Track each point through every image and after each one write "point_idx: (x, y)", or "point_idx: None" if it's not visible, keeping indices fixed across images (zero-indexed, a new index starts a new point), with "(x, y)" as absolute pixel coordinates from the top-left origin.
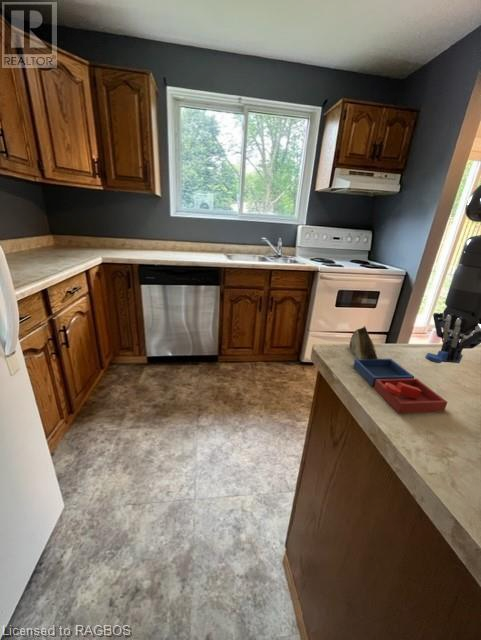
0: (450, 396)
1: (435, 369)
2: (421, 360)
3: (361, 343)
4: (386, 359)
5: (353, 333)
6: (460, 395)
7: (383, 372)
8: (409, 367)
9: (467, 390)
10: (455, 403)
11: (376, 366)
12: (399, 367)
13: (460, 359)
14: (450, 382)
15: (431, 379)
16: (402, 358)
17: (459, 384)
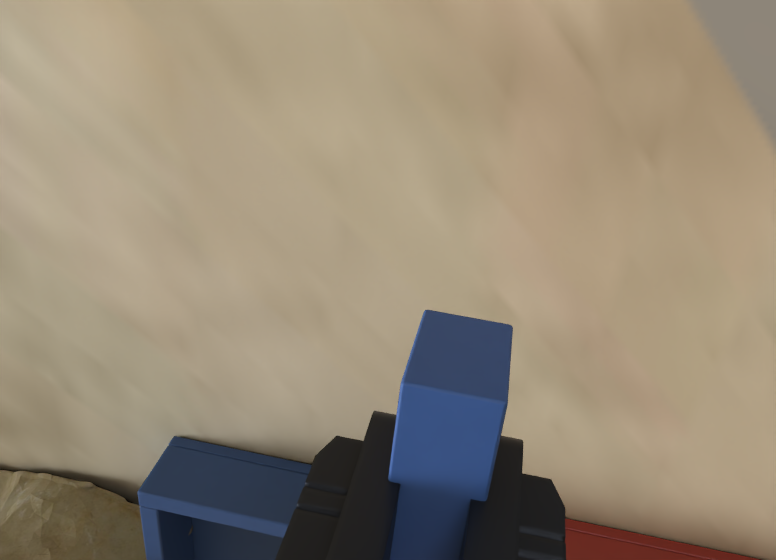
0: (664, 360)
1: (215, 43)
2: (14, 21)
3: None
4: (153, 531)
5: None
6: (687, 263)
7: (276, 552)
8: (180, 286)
9: (651, 100)
10: (751, 411)
11: (192, 536)
12: (282, 534)
13: (507, 363)
14: (479, 136)
15: (397, 274)
16: (2, 204)
17: (534, 70)
